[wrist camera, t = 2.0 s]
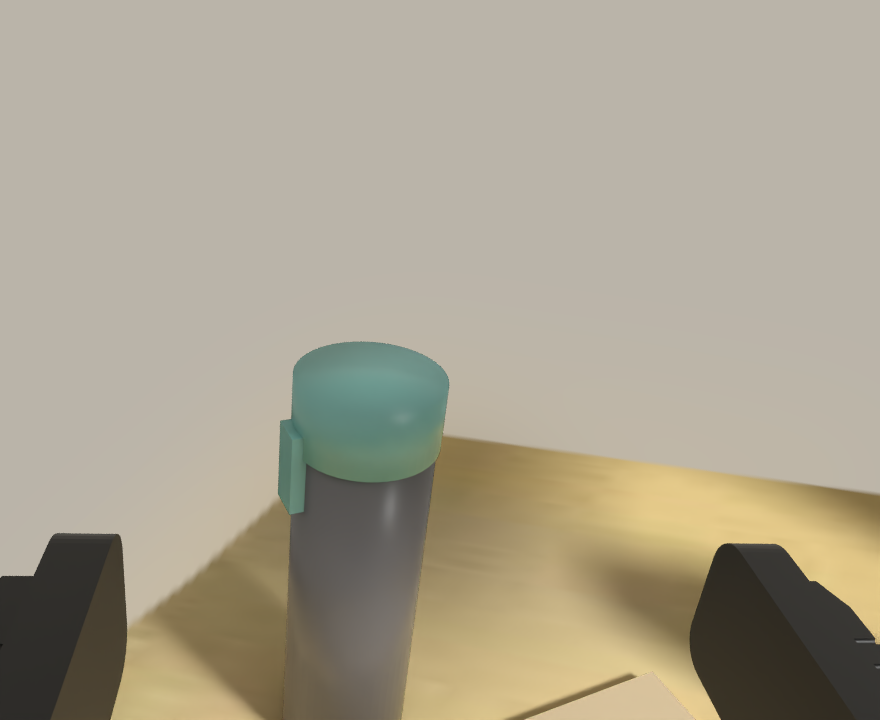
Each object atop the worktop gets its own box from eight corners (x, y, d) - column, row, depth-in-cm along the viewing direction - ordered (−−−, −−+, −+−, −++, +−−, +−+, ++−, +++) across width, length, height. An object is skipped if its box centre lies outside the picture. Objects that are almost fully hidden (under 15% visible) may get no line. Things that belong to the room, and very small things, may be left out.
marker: (374, 651, 31) (408, 335, 25) (425, 742, 27) (477, 402, 22) (257, 687, 29) (263, 351, 23) (296, 789, 25) (315, 428, 20)
